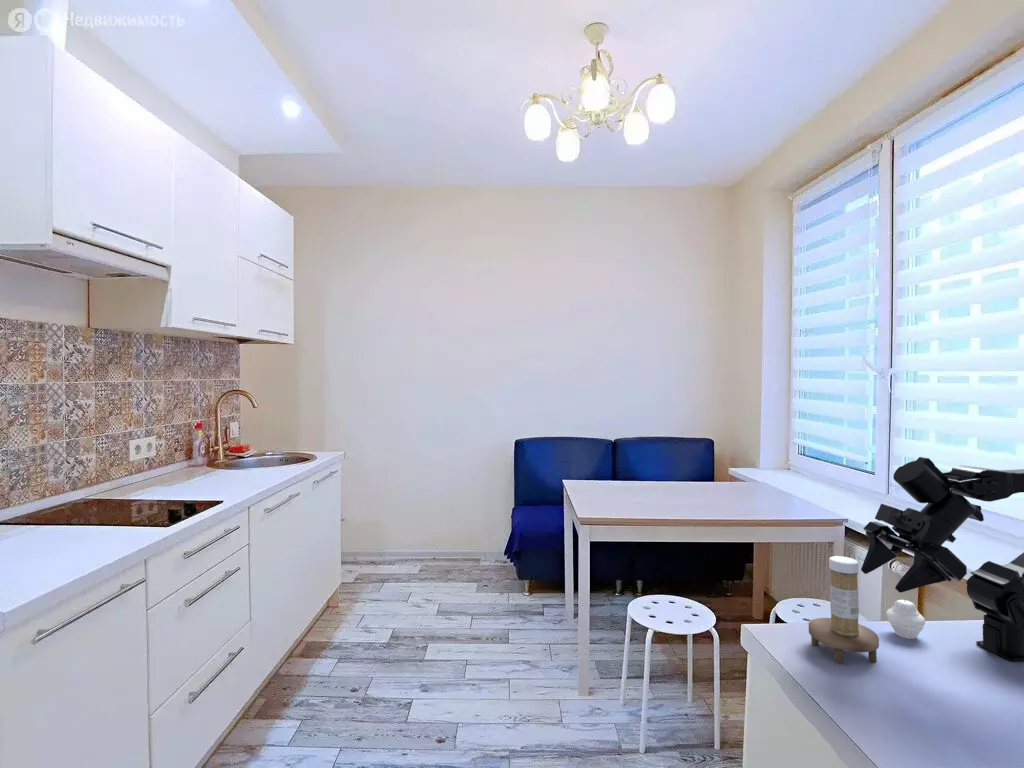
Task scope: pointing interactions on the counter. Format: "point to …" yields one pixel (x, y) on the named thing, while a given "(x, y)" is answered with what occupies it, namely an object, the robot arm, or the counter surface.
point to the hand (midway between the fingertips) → (879, 580)
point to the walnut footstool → (843, 639)
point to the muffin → (905, 619)
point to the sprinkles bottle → (844, 595)
